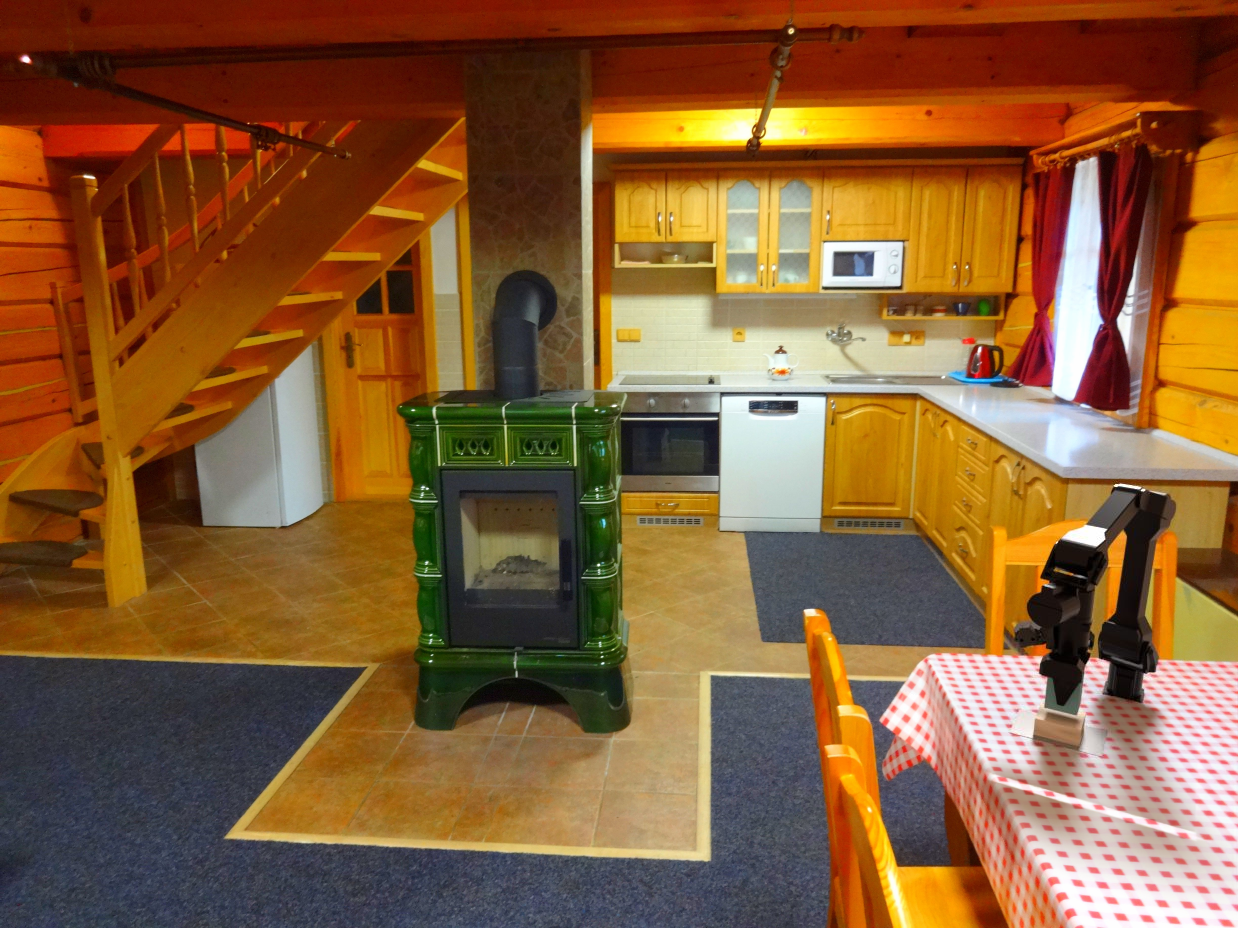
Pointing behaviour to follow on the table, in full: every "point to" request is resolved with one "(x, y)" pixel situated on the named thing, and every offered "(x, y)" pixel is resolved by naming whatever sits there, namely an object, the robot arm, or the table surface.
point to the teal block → (1070, 705)
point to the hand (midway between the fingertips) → (1062, 698)
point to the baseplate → (1089, 742)
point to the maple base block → (1059, 725)
